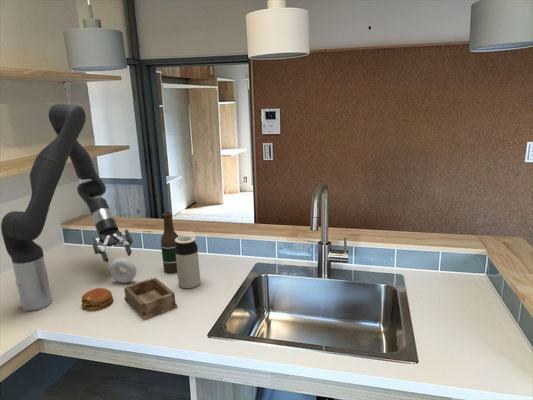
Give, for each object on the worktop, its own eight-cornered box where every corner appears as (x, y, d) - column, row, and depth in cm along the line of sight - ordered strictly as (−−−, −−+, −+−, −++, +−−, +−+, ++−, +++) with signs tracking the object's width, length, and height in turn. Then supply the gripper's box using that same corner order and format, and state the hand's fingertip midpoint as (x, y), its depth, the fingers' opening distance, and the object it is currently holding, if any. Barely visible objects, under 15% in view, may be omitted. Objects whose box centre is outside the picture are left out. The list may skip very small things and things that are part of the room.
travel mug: (185, 291, 146) (180, 244, 142) (174, 283, 152) (170, 238, 147) (204, 284, 151) (200, 238, 146) (193, 277, 157) (189, 233, 152)
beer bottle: (185, 265, 168) (180, 209, 161) (179, 274, 160) (173, 215, 154) (166, 265, 169) (161, 210, 162) (160, 273, 161) (153, 215, 155)
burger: (117, 297, 144) (115, 285, 143) (107, 311, 135) (105, 298, 134) (89, 298, 144) (87, 286, 143) (77, 312, 135) (75, 299, 134)
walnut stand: (143, 320, 129) (142, 305, 127) (124, 299, 142) (122, 286, 140) (177, 307, 135) (176, 293, 134) (156, 289, 149) (154, 276, 147)
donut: (110, 284, 154) (106, 259, 151) (114, 280, 157) (111, 255, 154) (135, 285, 152) (131, 260, 150) (139, 280, 156) (136, 256, 153)
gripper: (86, 221, 154) (100, 258, 148) (124, 213, 162) (138, 248, 157) (85, 231, 159) (98, 267, 154) (121, 223, 168) (135, 257, 162)
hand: (118, 258), depth 155 cm, fingers open, 8 cm apart
